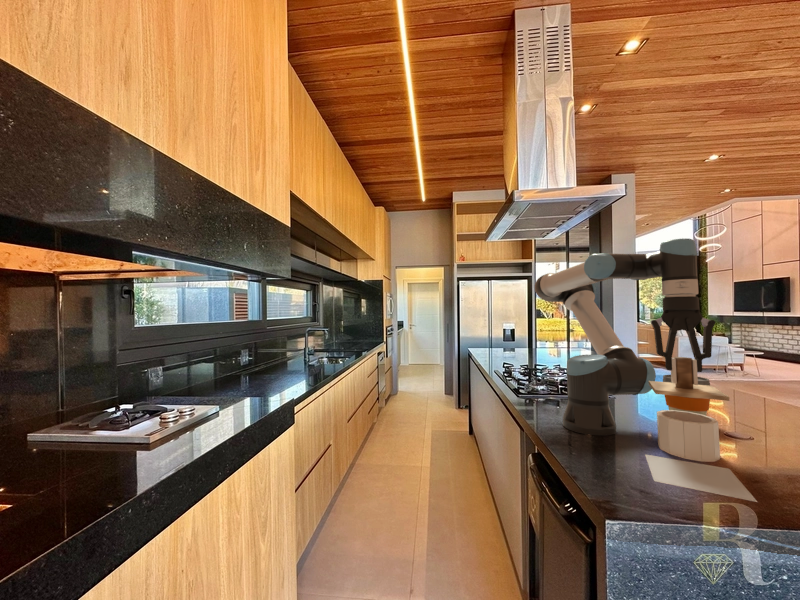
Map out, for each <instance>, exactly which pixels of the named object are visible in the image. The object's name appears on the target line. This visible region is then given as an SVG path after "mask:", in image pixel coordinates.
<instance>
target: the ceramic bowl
mask: <svg viewBox="0 0 800 600" xmlns="http://www.w3.org/2000/svg"><path fill="white" fill-rule="evenodd" d="M656 424H657V425H656V426H657V428H656V429H657V443H658V444H657V445H658V447H659V449H660V450H661V451H663V452H665V453H667V454H669V455H672V456H675V457H677V458H678V457H679V458H680V459H681V458H682V459H685V460H689V461H690V460H691V461H695V462H703V463H704V462H706V463H707V462H709V463H710V462H718V461H719V460H720V459H721V449H720V445H721V444H720V432H719V431H720V430H719V429H720V427H719V421H718V420H717V419H716V418H713V417H711V416H708V415H702V414H697V413H692V412H686V411H677V410H669V409H662V410H658V411H656Z"/></svg>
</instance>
